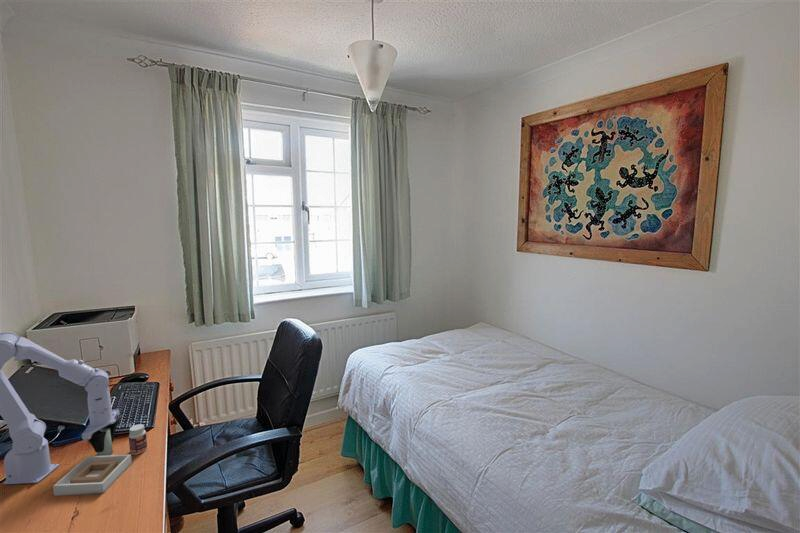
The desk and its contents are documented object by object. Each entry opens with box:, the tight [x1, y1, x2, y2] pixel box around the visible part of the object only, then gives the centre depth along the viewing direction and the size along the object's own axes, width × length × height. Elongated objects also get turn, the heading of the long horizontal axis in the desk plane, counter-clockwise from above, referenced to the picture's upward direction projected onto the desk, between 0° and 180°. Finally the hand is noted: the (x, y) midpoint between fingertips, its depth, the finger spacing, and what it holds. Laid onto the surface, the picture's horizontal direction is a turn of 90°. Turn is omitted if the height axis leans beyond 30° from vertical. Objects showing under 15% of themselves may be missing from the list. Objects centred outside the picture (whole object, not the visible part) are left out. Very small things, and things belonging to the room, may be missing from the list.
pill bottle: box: [128, 423, 148, 456], centre depth 125 cm, size 5×5×8 cm
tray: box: [52, 453, 133, 497], centre depth 113 cm, size 13×13×3 cm
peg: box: [96, 428, 114, 456], centre depth 124 cm, size 4×4×8 cm
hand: (104, 447), depth 124 cm, fingers closed on peg, 4 cm apart
